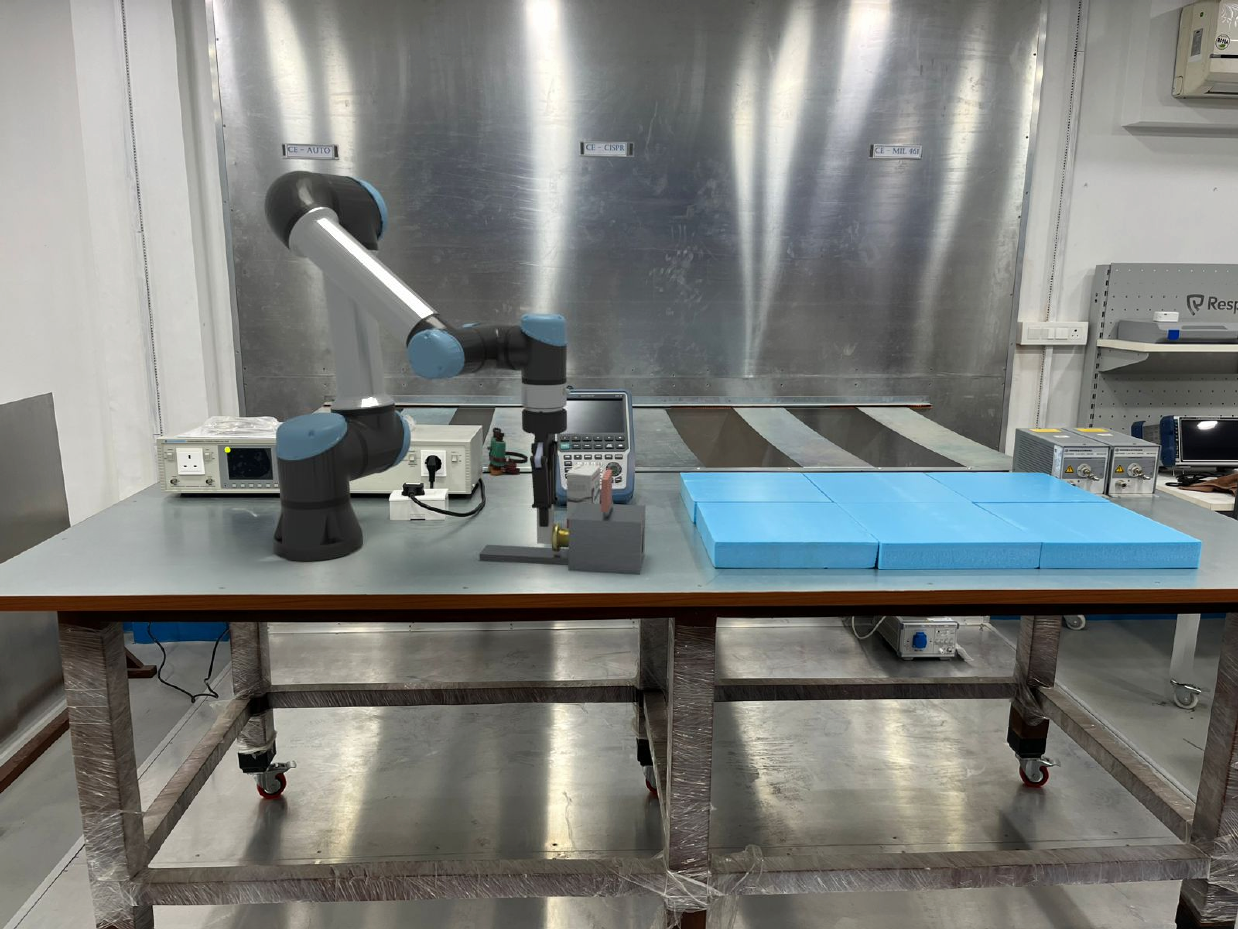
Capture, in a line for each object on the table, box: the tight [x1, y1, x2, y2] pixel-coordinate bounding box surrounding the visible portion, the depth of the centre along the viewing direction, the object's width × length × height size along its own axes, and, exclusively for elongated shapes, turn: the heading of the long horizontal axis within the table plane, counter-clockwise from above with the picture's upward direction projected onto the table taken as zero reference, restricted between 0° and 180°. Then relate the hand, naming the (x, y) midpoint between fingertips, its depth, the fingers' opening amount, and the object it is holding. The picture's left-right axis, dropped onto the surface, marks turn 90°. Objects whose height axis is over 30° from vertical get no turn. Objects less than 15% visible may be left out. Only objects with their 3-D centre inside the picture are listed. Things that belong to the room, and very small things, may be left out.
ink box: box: [566, 463, 601, 529], centre depth 163 cm, size 9×5×12 cm, turn 168°
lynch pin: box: [551, 523, 569, 552], centre depth 145 cm, size 15×5×5 cm, turn 84°
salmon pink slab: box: [600, 469, 614, 518], centre depth 143 cm, size 1×7×6 cm, turn 174°
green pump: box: [486, 427, 529, 476], centre depth 206 cm, size 9×11×10 cm
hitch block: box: [478, 503, 646, 575], centre depth 145 cm, size 28×10×9 cm, turn 84°
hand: (545, 542), depth 146 cm, fingers closed
